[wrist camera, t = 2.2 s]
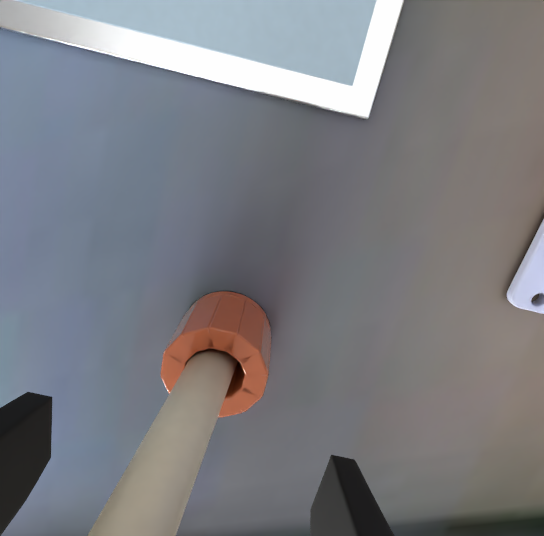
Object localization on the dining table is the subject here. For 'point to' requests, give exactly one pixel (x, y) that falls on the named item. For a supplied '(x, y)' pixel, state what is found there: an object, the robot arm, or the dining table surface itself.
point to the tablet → (233, 41)
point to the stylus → (169, 453)
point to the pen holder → (224, 345)
